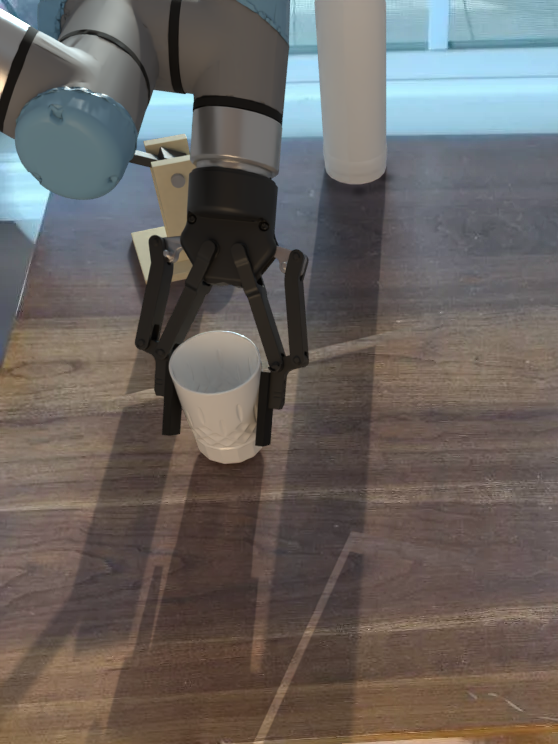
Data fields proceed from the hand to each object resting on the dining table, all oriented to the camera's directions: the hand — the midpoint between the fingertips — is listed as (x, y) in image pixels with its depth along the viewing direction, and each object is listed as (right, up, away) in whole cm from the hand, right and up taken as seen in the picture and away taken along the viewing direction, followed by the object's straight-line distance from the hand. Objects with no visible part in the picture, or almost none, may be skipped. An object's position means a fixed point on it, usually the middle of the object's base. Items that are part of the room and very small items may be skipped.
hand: (216, 439), depth 78 cm
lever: (-12, +29, +10) cm, 33 cm away
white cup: (0, +1, +5) cm, 5 cm away
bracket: (-7, +24, +21) cm, 33 cm away
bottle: (+11, +38, +32) cm, 50 cm away
